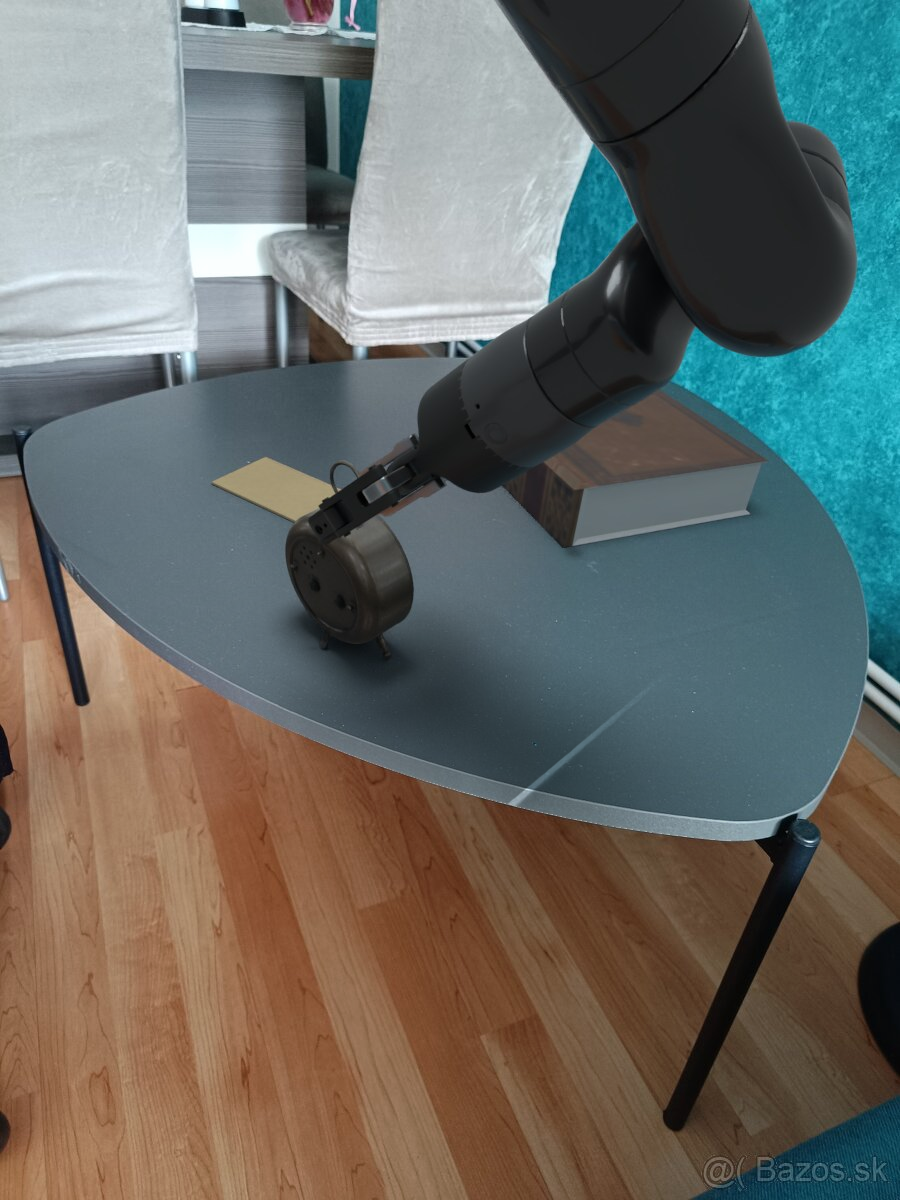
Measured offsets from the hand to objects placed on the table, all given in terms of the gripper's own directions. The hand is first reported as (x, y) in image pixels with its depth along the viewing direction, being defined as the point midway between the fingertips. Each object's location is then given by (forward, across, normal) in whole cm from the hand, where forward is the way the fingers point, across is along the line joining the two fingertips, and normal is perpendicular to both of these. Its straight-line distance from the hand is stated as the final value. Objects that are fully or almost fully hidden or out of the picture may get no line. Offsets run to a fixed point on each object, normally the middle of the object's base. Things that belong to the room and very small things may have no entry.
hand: (356, 508), depth 61 cm
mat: (+25, -15, -7) cm, 30 cm away
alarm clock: (+10, 0, +8) cm, 13 cm away
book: (+9, -43, +10) cm, 45 cm away
